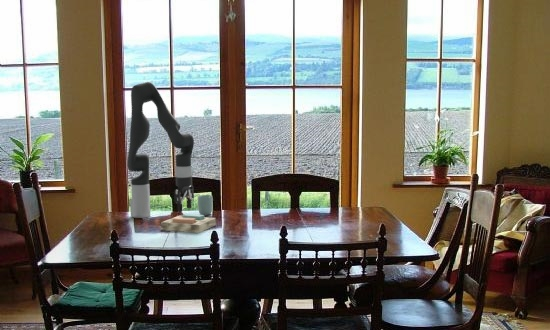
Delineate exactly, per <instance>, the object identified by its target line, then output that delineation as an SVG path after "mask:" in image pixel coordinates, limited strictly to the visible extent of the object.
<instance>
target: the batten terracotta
mask: <svg viewBox="0 0 550 330" xmlns="http://www.w3.org/2000/svg"><path fill="white" fill-rule="evenodd" d="M175 217H176V218H174V217H173V218H174V219H173V223H182V224H194V223H196V218H181V217H177V216H175Z"/></svg>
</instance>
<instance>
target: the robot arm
mask: <svg viewBox="0 0 550 330" xmlns="http://www.w3.org/2000/svg"><path fill="white" fill-rule="evenodd" d="M130 100H131V101H130V103H131V117H130V118H131V119H130V121H131V122H130V129H129V131H130V132H129V148H128V154H127V164H126V165H127V169H128V171H130V172H141V173H140V174H139V175H137V176H136V177H132V178H131V179H130V183H131V185H130V187H131V188H130V189H131V198H130V199H129V201H130V205H129V206H130V217H131V218H135V219H143V218H149V217H151V200H150V199H151V198H150V197H151V193H150V192H151V191H150V157H149V155H148V154H147V153H138V151H139V150H140V148H141V147H142V146H143V144H145V142H146V141H148V138H149V136H150V127H151V125H150V122H149V119H148V118H147V117H146V115H145V114H144V112H143V111H144V110H143V109H144V108H143V106H144V104H145V103H150V102H152V103H153V104H154V105H155V106H156V107H155V108H156V111H157V120H158V123H159V124H160V125H161V127H162V128H163V129H164V131H165V132H166V133H167V135H168V136H167V137H168V139H169V142H170V143H171V144H172V146H173V147H175V148H176V149H180V152H179V153H177V154H176V156H175V186H176V187H177V189H174V192H173V193H174V197H173V198H174V200H173V201H174V203H175V204H177V207H176V208H177V212H178V213H179V212H180V213H181V212H183V202H184V200H185V199H186V200H185V201H186V208H187V209H192V200H193V199H194V198H195V191H194V186H193V171H192V155H193V149H194V145H195V141H194V136H193V135H192V134H191V133H190V132H181V131H180V129H181V125H180V123H179V122H178V120H177V119H176V118H175V116H173V114H172V113H171V111H170V110H169V108H168V106H167V104H166V103H165V101H164V98H163V97H162V95H161V94H160V91H159V90H158V88H157V87H156V85H154V83H153V82H151V81H146V82H142V83H138V84H134V85H133V86H132V88H131V91H130Z"/></svg>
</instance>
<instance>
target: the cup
mask: <svg viewBox="0 0 550 330" xmlns="http://www.w3.org/2000/svg"><path fill="white" fill-rule="evenodd" d="M213 201H214V199H213V195H211V194H202V195H201V194H200V195H198V196H197V209H198V212H199V213H198V214H199V215H204V216H209V215H211V214H212V213H213Z"/></svg>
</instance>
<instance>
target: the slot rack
mask: <svg viewBox="0 0 550 330" xmlns="http://www.w3.org/2000/svg"><path fill="white" fill-rule="evenodd" d="M176 217H181V218H182V215H181V214H179V215H177V216H175V217H172V218H169V219H166V220H164V221H162V222H160V230H161V231H173V232H183V231H184V232H186V233H195V234H196V233H197V234H200V233H201V232H204V231H206V230H208V229H210V228H213V227H215V226H216V225H217V218H216V217H205V216H204V220H196V223H194V224H182V223H173V219H174V218H176Z"/></svg>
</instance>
